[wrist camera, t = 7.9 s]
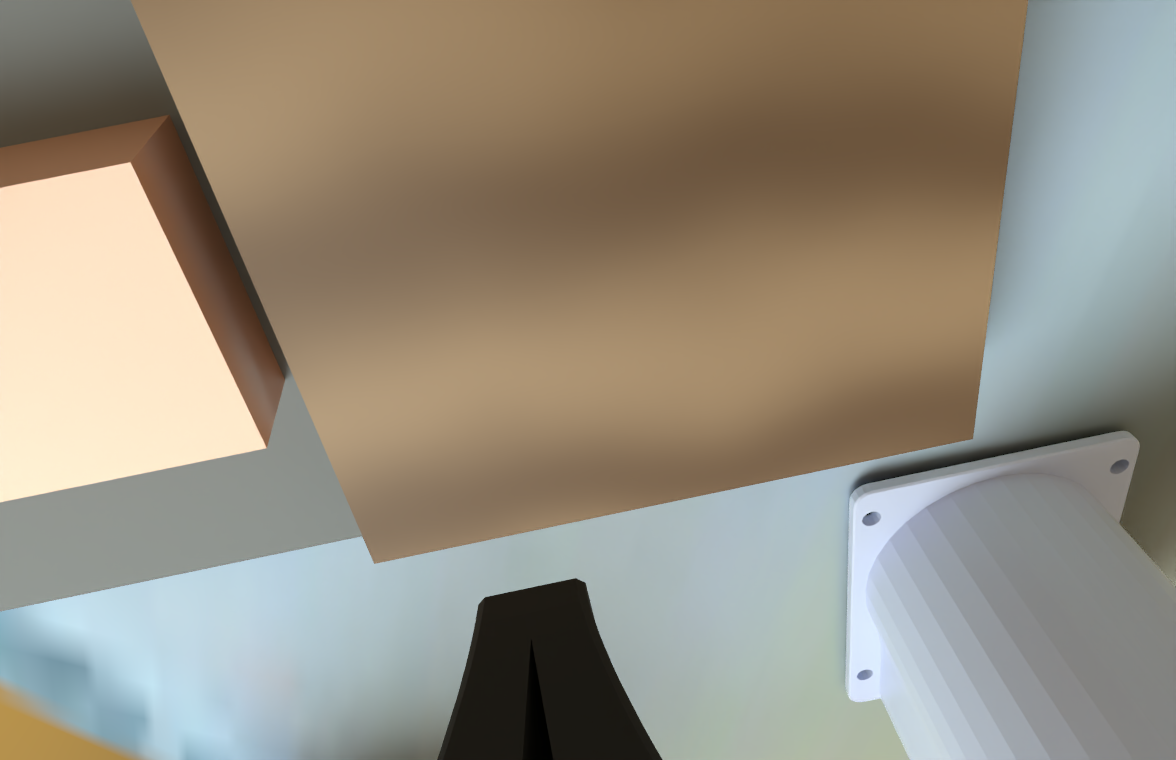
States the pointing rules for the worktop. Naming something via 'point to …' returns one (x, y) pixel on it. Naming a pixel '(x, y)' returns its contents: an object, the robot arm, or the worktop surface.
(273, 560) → the worktop surface
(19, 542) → the mat
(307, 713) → the worktop surface
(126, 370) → the tile
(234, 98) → the brown wooden flat slab
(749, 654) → the worktop surface
